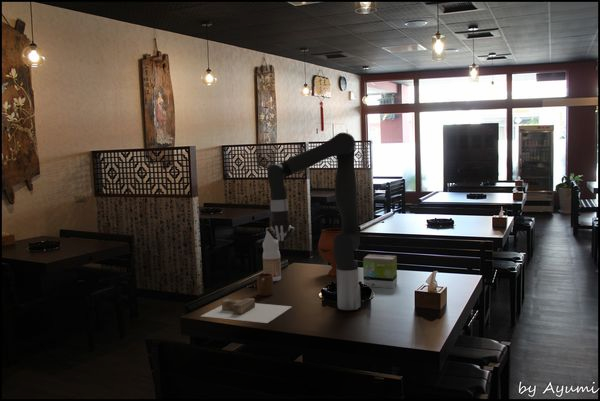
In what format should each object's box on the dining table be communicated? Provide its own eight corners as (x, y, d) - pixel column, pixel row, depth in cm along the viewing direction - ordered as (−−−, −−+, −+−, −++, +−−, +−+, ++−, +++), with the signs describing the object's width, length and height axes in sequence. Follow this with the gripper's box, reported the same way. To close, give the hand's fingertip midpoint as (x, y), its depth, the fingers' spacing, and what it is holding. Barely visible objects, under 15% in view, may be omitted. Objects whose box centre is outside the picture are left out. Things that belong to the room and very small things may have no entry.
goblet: (360, 272, 299) (359, 228, 297) (339, 279, 285) (338, 233, 282) (333, 268, 312) (331, 226, 309) (312, 275, 297) (310, 230, 295)
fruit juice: (265, 282, 285) (262, 230, 283) (262, 278, 294) (260, 227, 292) (282, 280, 287) (280, 228, 285) (279, 277, 296) (277, 226, 294)
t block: (254, 307, 239) (254, 298, 238) (241, 315, 228) (240, 305, 227) (231, 305, 244) (231, 296, 243) (217, 312, 233) (216, 303, 232)
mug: (270, 298, 253) (270, 279, 252) (254, 298, 253) (254, 279, 252) (274, 292, 265) (273, 273, 264) (259, 292, 265) (258, 273, 264)
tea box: (363, 287, 268) (362, 257, 266) (368, 282, 277) (367, 253, 276) (393, 288, 262) (392, 258, 261) (397, 283, 271) (396, 254, 270)
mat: (292, 306, 238) (292, 306, 238) (267, 323, 216) (267, 322, 216) (229, 301, 251) (229, 300, 251) (200, 316, 229) (200, 316, 229)
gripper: (296, 208, 236) (299, 247, 238) (269, 209, 241) (272, 247, 243) (290, 210, 229) (292, 250, 231) (262, 211, 234) (265, 250, 236)
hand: (282, 248), depth 237 cm, fingers closed
